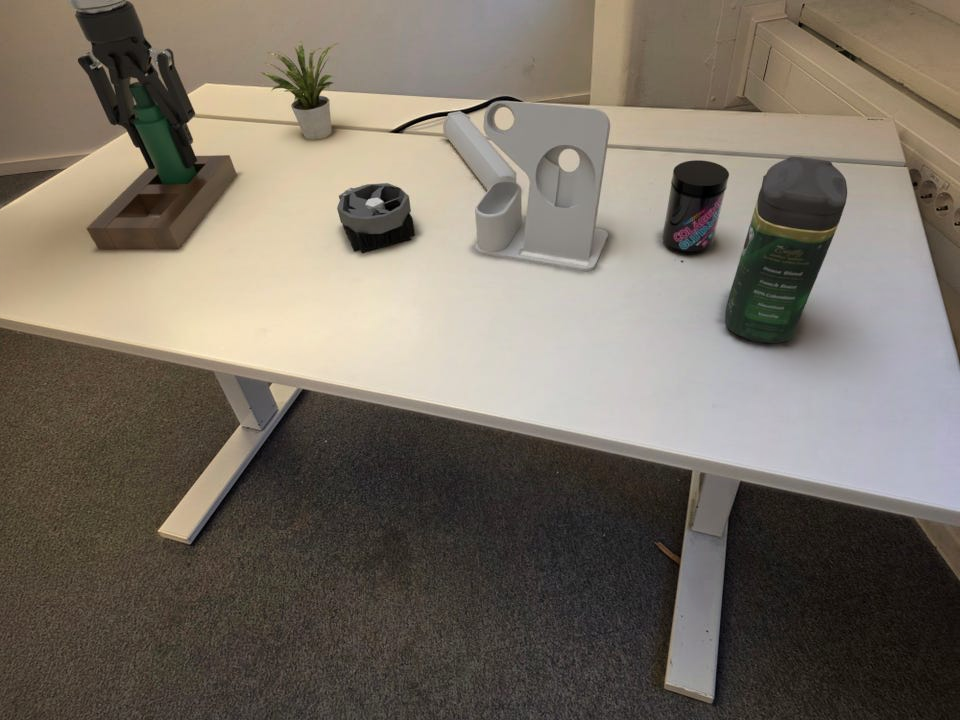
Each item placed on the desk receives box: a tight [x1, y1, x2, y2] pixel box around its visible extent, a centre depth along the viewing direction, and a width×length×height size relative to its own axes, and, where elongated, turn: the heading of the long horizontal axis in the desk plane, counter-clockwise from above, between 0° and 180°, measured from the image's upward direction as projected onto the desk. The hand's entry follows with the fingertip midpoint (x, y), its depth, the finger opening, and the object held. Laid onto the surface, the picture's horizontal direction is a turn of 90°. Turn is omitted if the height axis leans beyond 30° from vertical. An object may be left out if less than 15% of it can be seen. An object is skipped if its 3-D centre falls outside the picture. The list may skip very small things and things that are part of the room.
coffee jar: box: [724, 156, 848, 344], centre depth 65 cm, size 10×8×19 cm
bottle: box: [129, 81, 197, 185], centre depth 96 cm, size 6×6×17 cm
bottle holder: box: [85, 154, 238, 251], centre depth 98 cm, size 13×23×4 cm, turn 175°
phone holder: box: [474, 100, 611, 272], centre depth 79 cm, size 17×10×18 cm, turn 68°
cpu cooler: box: [336, 182, 416, 254], centre depth 88 cm, size 10×6×10 cm
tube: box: [442, 110, 517, 192], centre depth 101 cm, size 5×5×25 cm
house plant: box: [260, 41, 339, 141], centre depth 112 cm, size 14×14×16 cm
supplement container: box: [661, 159, 730, 256], centre depth 80 cm, size 7×7×10 cm
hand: (173, 164), depth 99 cm, fingers closed on bottle, 6 cm apart
